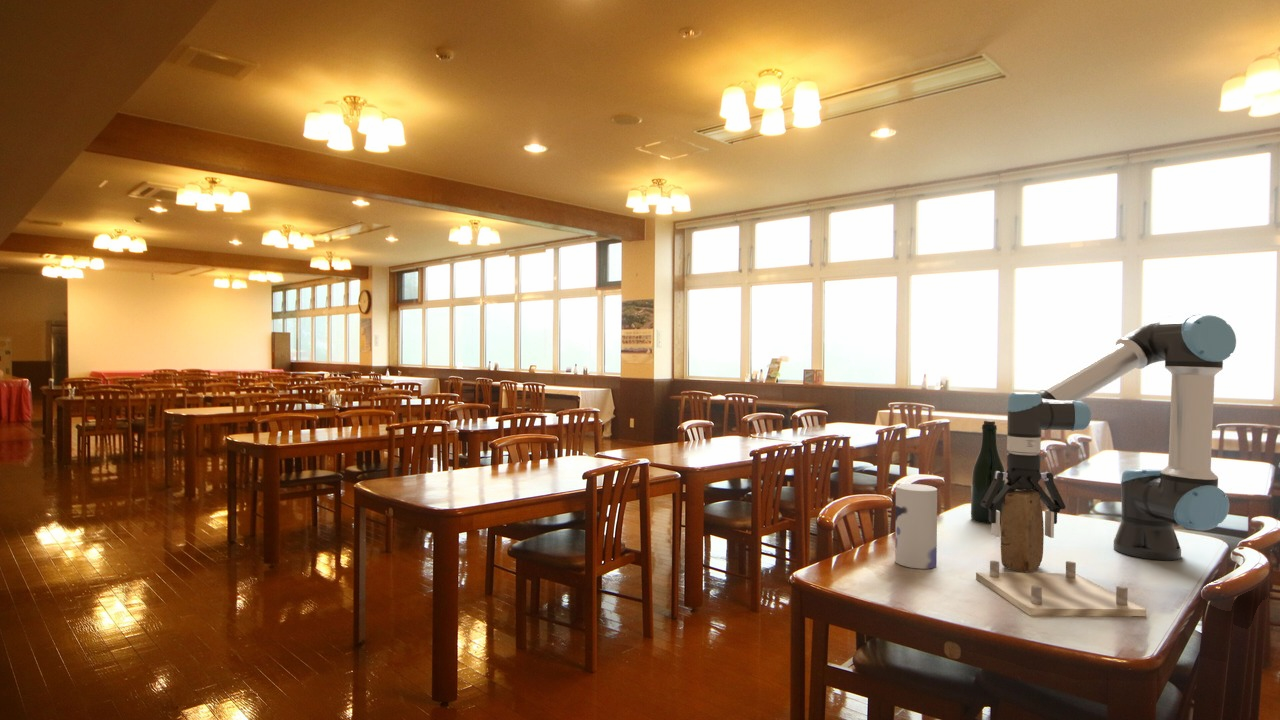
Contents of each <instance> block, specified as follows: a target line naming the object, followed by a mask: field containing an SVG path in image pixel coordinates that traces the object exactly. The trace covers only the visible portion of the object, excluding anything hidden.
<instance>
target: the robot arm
mask: <svg viewBox="0 0 1280 720" xmlns="http://www.w3.org/2000/svg"><path fill="white" fill-rule="evenodd" d="M1236 347H1237V338H1236V333H1235V331H1234V328H1232V326H1231V325H1230V324H1228V323H1227V321H1226V320H1225V319H1223V318H1221V317H1219V316H1216V315H1212V314H1192V315H1182V316H1181V315H1179V316H1168V317H1167V316H1166V317H1160V318H1157V319H1154V320H1152V321H1150V322H1147V323H1146V324H1144V325H1141V326H1140V327H1138V328H1136V329H1134V330H1133V331H1131V332H1129V333H1128V334H1125V335H1124V336H1122V337H1121V338H1119V339H1117V341H1116V342H1115V345H1114V346H1113V347H1111V348H1110V349H1108V350H1106V351H1104V352H1103V353H1101V354H1100V355H1098V356H1096V357H1095V358H1092V359H1091V360H1090V361H1088V362H1086V363H1084V364H1083V365H1081V366H1079V367H1078V368H1076V369H1074V370H1072V371H1071V372H1069V373H1068V374H1066V375H1064V376H1063V377H1061V378H1059V379H1058V380H1056V381H1054V382H1052V383H1051V384H1049V385H1047V386H1046V387H1044V388H1043V389H1041V390H1040V391H1037V392H1026V391H1025V392H1023V391H1021V392H1019V391H1017V392H1015V391H1013V392H1011V393H1010V394H1009V395H1008V398H1007V399H1008V400H1007V408H1006V412H1007V427H1006V428H1007V431H1006V432H1007V433H1006V434H1007V435H1006V436H1007V437H1006V450H1007V451H1008V452H1007V454H1006V471H1005V473H1003V472H999V471H995V472H994V478H993V481H992V483H991V485H990V487H989V488H988V490H987V492H986V494H985V496H984V498H983V500H982V502H981V506H983V507H985V508H988V510H989V518H988V520H989V522H991V523H992V524H991V535H992V536H994V537H995V538H1001V524H1000V511H998V510H997V509H998V508H999V507H1000V506H1001V504H1002V503H1003V502H1004V501H1005V496H1006V494H1007V493H1011V492H1014V491H1015V490H1016V489H1018V490H1024V489H1026V490H1036V491H1038V492H1039V494H1040V501H1042V503H1043V504H1044V505H1045V506H1046V507H1047V509H1044V536H1045V537H1048V538H1050V539H1054V538H1055V536H1054V535H1055V525H1056V524H1057V523H1058V513H1060V512H1061V510H1065V509H1066V504H1065V503H1064V500H1063V499H1062V496H1061V494H1060V492H1059V490H1058V488H1057V485H1056V484H1055V482H1054V481H1055V480H1054V474H1053V473H1052V472H1050V471H1043V472H1041V471H1040V470H1041V455H1040V453H1041V444H1042V443H1041V439H1042V438H1041V437H1042V434H1041V433H1042V431H1046V430H1047V431H1071V432H1074V431H1082V430H1085V429H1086V428H1088V427H1089V425H1090V424H1091V423H1090V422H1091V421H1092V417H1091V416H1092V412H1091V409H1090V407H1089V405H1088V404H1087V403H1086V402H1084V401H1082V400H1084V399H1085V398H1087V397H1089V396H1090V395H1092V394H1094V393H1095V392H1097V391H1099V390H1100V389H1103V388H1104V387H1106V386H1107V385H1109V384H1111V383H1113V382H1114V381H1116V380H1117V379H1119V378H1120V377H1122V376H1124V375H1126V374H1128V373H1129V372H1131V371H1133V370H1134V369H1137V370H1141V369H1144V368H1146V367H1148V366H1149V365H1152V364H1154V363H1155V364H1156V363H1159V362H1164V368H1165V369H1166V370H1168V372H1169V373H1171V387H1170V388H1171V389H1170V390H1171V392H1170V393H1171V394H1170V417H1169V418H1170V419H1169V438H1168V439H1169V441H1168V464H1167V466H1166V467H1165V468H1163V469H1148V468H1147V469H1146V468H1145V469H1137V468H1135V469H1125V470H1124V471H1123V472H1122V474H1121V475H1122V476H1121V481H1120V485H1121V512H1120V513H1121V516H1120V517H1121V519H1120V524H1119V527H1118V529H1117V532H1116V533H1115V537H1114V538H1113V550H1115V551H1117V552H1119V553H1121V554H1125V555H1128V556H1132V557H1136V558H1142V559H1147V560H1148V559H1149V560H1158V561H1176V560H1180V559H1182V548H1181V545H1180V542H1179V539H1178V537H1177V534H1176V531H1175V530H1174V529H1175V528H1174V525H1177V526H1180V527H1182V528H1185V529H1192V530H1196V531H1208V530H1212V529H1215V528H1217V527H1218V526H1219V524H1222V523H1223V522H1224V521H1225V520H1226V518H1227V516H1228V514H1229V512H1230V501H1229V500H1230V499H1229V497H1228V495H1227V494H1226V493H1225V491H1224V490H1223V489H1220V488H1219V477H1218V475H1216V473H1215V472H1213V470H1212V468H1211V467H1212V445H1213V443H1212V442H1213V426H1214V425H1213V424H1214V423H1213V422H1214V421H1213V419H1214V396H1215V377H1216V375H1217V374H1218V373H1219V372H1220V371H1222V370H1223V367H1224V361H1225V360H1226V359H1228V358H1229V357H1231V354H1233V353H1234V352H1235V350H1236ZM1005 478H1006V484H1005V485H1004V488H1003V489H1002V490H1001V491H1000V492H999V493H998V495H997V496H996V494H997V492H998V490H999V488H1000V486H1001V484H1002V482H1003V481H1004V480H1005ZM1040 480H1041V481H1043V483H1044V485H1045V488H1046V490H1047V492H1048V494H1049V495H1050V496H1049V495H1048V494H1047V493H1046V491H1044V489H1043V487H1042V486H1041V484H1040V483H1039V482H1040ZM995 496H996V497H995Z"/></svg>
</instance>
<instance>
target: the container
mask: <svg viewBox="0 0 1280 720" xmlns="http://www.w3.org/2000/svg"><path fill="white" fill-rule="evenodd" d="M937 529H938V488H937V487H935V486H931V485H926V484H920V483H918V484H917V483H901V484H897V485H895V533H894V534H895V538H894V539H895V542H894V543H895V544H894V545H895V549H894V551H895V554H894V556H895V557H894V558H895V559H894V560H895V561H894V562H895V563H897V564H898V565H899V566H902V567H907V568H910V569H917V570H918V569H920V570H922V569H923V570H925V569H933V568H936V567H937V563H938V559H937V558H938V556H937V555H938V554H937V553H938V551H937V550H938V548H937V547H938V542H937V540H938V538H937V537H938V534H937V532H938V530H937Z"/></svg>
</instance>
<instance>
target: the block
mask: <svg viewBox="0 0 1280 720" xmlns="http://www.w3.org/2000/svg"><path fill="white" fill-rule="evenodd" d="M1041 504H1042V502H1041V499H1040V494H1039V492H1038V491H1036V490H1032V489H1031V490H1026V489H1024V490H1018V489H1016V490H1015V491H1014V492H1011V493H1007V494H1006V496H1005V501H1004V502H1003V506H1002V512H1001V514H1002V515H1001V524H1000V556H1001V557H1000V559H1001V560H1000V562H1001V565H1002V566H1003V567H1004V568H1005V569H1008V570H1010V571H1014V572H1017V573H1036V571H1038V570H1039V568H1040V566H1041V564H1042V562H1043V556H1044V536H1045V526H1044V515H1043V514H1044V513H1043V506H1042V505H1041Z"/></svg>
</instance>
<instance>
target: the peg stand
mask: <svg viewBox="0 0 1280 720" xmlns="http://www.w3.org/2000/svg"><path fill="white" fill-rule="evenodd" d="M1076 566H1077V565H1076V562H1074V561H1069V560H1068V561H1065V573H1063V572H1062V573H1061V572H1000V561H997V560H990V561H989V572H978V571H977V572H975V579H976V580H977V581H978V582H980V583H982V584H983V585H984V586H986V587H988V588H989V589H991V590H992V591H993V592H995V593H997V595H998V596H1001V597H1002V598H1004V599H1005V600H1007V601H1008V602H1009V603H1011V604H1012V605H1014V606H1015V607H1017V608H1018V609H1020V610H1021V611H1023V612H1024V613H1026V614H1027V615H1028V616H1036V617H1037V616H1046V617H1048V616H1049V617H1050V616H1051V617H1055V616H1057V617H1059V616H1060V617H1063V616H1065V617H1131V616H1146V617H1147V608H1144V607H1143V606H1141V605H1138V604H1136V603H1134V602H1132V601H1131V600H1128V598H1129V597H1128V595H1129V594H1128V592H1129V591H1128V587H1126V586H1121V585H1119V586H1117V585H1116V586H1115V588H1116V589H1115V592H1116V593H1115V592H1113V591H1111V590H1109V589H1107V588H1105V587H1103V586H1101V585H1099V584H1097V583H1095V582H1093V581H1091V580H1089V579H1088V578H1085V577H1084V576H1081V575H1080V574H1077V573H1076V572H1077V571H1076V570H1077V569H1076V568H1077V567H1076Z"/></svg>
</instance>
